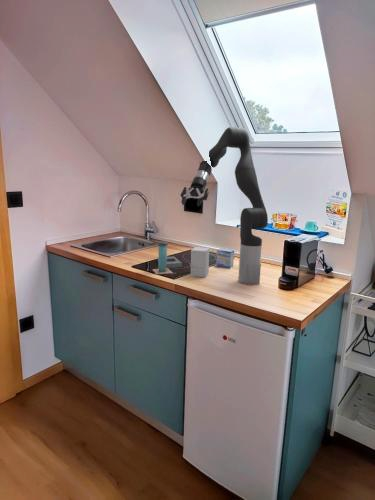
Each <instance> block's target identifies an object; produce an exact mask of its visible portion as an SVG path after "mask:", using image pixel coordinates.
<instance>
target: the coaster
mask: <svg viewBox="0 0 375 500" xmlns="http://www.w3.org/2000/svg"><path fill="white" fill-rule="evenodd" d="M152 271H153V272H154V273H155V274H156V275H164V274H166V275H167V274H173V271H172V270H171V269H170V268H167V271H166V272H159V271H158V268H154V269H152Z"/></svg>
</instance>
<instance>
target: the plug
mask: <svg viewBox="0 0 375 500" xmlns="http://www.w3.org/2000/svg"><path fill="white" fill-rule="evenodd" d="M168 243H169V242H168V241H166V240H165V241H163V240H162V241H158V242H157V245H158V247H157V248H158V251H157V252H158V255H157V256H158V257H157V262H158V267H157V269H158V271H159V272H166V271H167V257H168Z"/></svg>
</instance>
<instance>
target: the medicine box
mask: <svg viewBox="0 0 375 500" xmlns="http://www.w3.org/2000/svg"><path fill="white" fill-rule="evenodd" d="M234 258H235V250H232V249H226V248H225V249H224V248H219V249H217V250H216V260H215V261H216V262H215V263H216V265H215V266H216V267H219V268H226V269H231V268H233V267H234Z"/></svg>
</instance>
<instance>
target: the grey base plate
mask: <svg viewBox="0 0 375 500" xmlns="http://www.w3.org/2000/svg"><path fill="white" fill-rule="evenodd" d="M167 268H168V269H171V268H172V269H173V268H176V269H177V268H183V262H182V261H180V260H179V259H178V258H176V256H167Z"/></svg>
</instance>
